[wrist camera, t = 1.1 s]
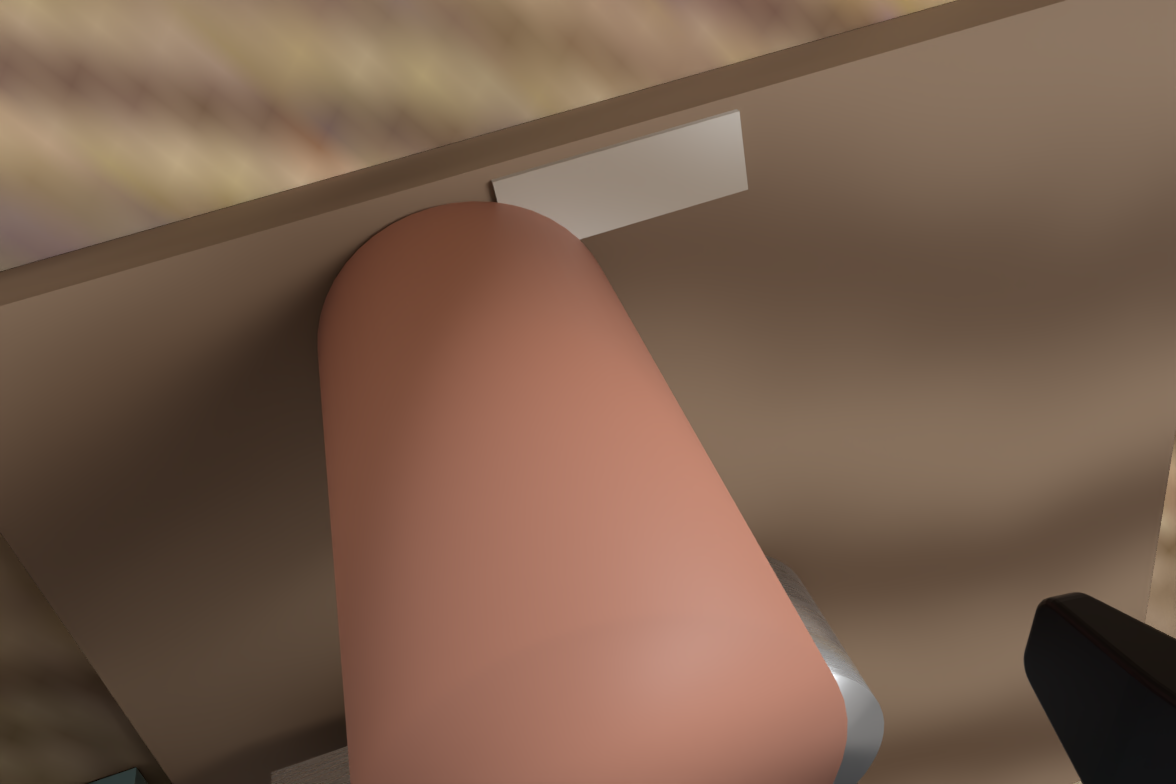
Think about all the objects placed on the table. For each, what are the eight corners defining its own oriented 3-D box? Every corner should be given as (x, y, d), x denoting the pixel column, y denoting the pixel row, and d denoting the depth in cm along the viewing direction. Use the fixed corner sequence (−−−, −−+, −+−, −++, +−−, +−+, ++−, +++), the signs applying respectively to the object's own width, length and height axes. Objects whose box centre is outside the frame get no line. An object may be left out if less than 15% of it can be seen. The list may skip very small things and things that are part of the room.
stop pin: (635, 413, 17) (857, 853, 11) (370, 494, 17) (435, 1002, 10) (585, 164, 15) (835, 545, 8) (271, 252, 14) (276, 727, 8)
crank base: (1092, 728, 28) (1124, 767, 27) (353, 1001, 26) (357, 1057, 25) (1195, -67, 17) (1257, -53, 16) (-104, 301, 15) (-133, 346, 13)
